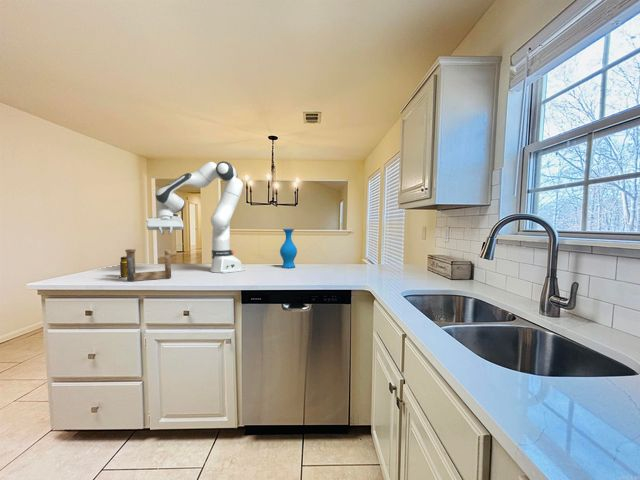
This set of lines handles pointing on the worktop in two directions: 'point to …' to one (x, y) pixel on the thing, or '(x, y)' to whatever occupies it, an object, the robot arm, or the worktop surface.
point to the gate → (150, 275)
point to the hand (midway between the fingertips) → (166, 233)
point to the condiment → (123, 267)
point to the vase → (288, 250)
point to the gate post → (132, 254)
